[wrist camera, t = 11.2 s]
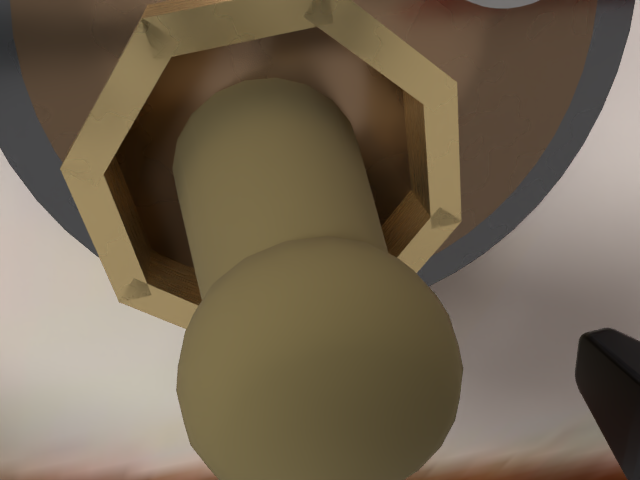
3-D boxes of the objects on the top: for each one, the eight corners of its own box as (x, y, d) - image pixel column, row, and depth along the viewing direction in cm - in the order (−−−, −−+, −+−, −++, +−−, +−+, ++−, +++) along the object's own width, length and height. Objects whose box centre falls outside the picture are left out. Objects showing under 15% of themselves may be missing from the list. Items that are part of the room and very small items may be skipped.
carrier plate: (112, 353, 23) (96, 441, 19) (-220, -339, 12) (-399, -438, 8) (589, 238, 24) (658, 300, 21) (668, -476, 13) (841, -612, 10)
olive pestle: (347, 251, 21) (467, 543, 11) (173, 251, 19) (150, 578, 10) (374, 84, 18) (566, 295, 8) (171, 70, 16) (134, 301, 7)
